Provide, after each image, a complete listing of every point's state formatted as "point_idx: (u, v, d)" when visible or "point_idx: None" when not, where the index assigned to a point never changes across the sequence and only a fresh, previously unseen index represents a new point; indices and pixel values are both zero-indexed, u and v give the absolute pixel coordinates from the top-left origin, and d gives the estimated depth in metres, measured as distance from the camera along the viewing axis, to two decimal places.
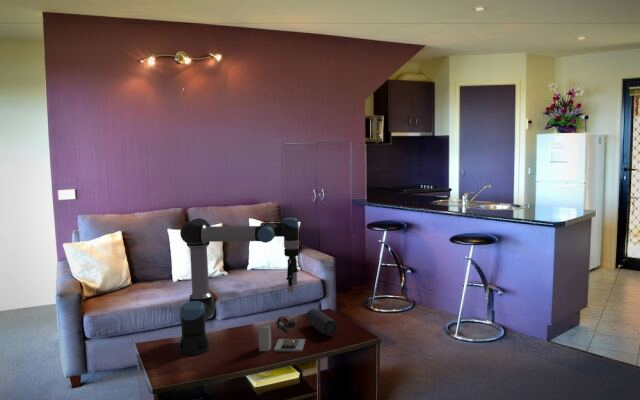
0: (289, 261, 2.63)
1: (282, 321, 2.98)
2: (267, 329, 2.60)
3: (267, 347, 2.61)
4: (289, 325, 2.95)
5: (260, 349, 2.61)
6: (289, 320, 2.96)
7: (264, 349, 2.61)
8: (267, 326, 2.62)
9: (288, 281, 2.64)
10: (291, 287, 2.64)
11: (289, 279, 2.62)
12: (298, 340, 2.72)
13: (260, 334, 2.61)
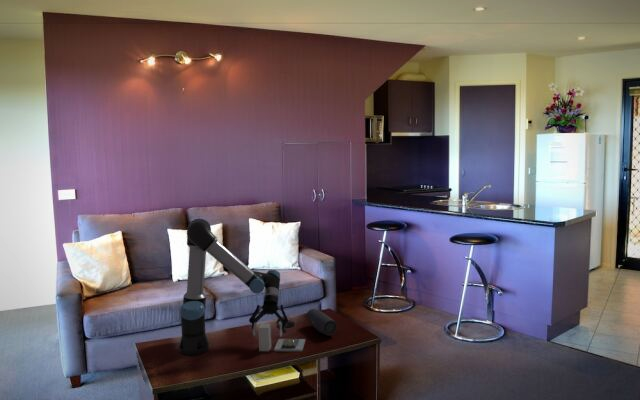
0: None
1: None
2: (267, 329, 2.60)
3: (267, 347, 2.61)
4: (288, 325, 2.96)
5: (260, 349, 2.61)
6: (288, 320, 2.96)
7: (264, 349, 2.61)
8: (267, 326, 2.62)
9: (281, 324, 2.67)
10: (281, 331, 2.66)
11: (285, 322, 2.68)
12: (298, 340, 2.72)
13: (260, 334, 2.61)
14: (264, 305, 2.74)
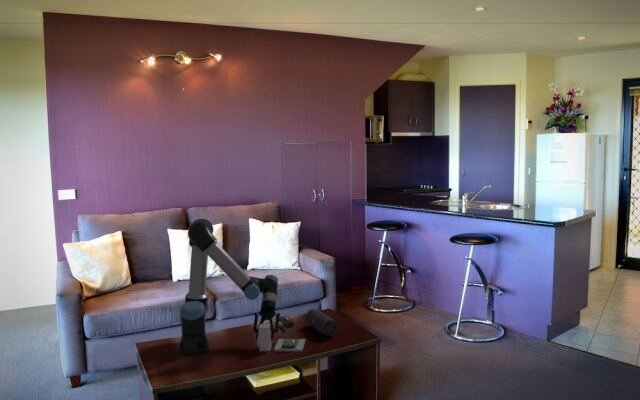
0: (279, 315, 2.70)
1: (281, 321, 2.99)
2: (267, 329, 2.60)
3: (267, 347, 2.61)
4: (288, 325, 2.96)
5: (260, 349, 2.61)
6: (288, 320, 2.97)
7: (264, 349, 2.61)
8: (267, 326, 2.62)
9: (270, 334, 2.63)
10: (270, 341, 2.62)
11: (274, 332, 2.64)
12: (298, 340, 2.72)
13: (260, 334, 2.61)
14: (261, 310, 2.71)
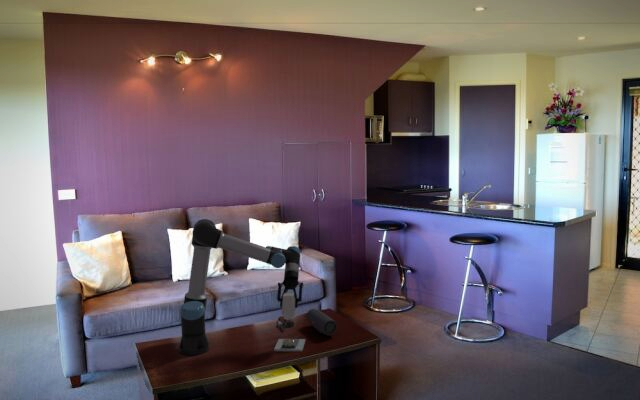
0: (302, 285, 2.73)
1: (281, 320, 2.99)
2: (291, 297, 2.63)
3: (291, 315, 2.64)
4: (287, 325, 2.96)
5: (284, 317, 2.65)
6: (287, 320, 2.97)
7: (288, 317, 2.65)
8: (291, 294, 2.65)
9: (294, 302, 2.66)
10: (294, 309, 2.65)
11: (298, 300, 2.67)
12: (298, 340, 2.72)
13: (284, 302, 2.64)
14: (284, 280, 2.74)
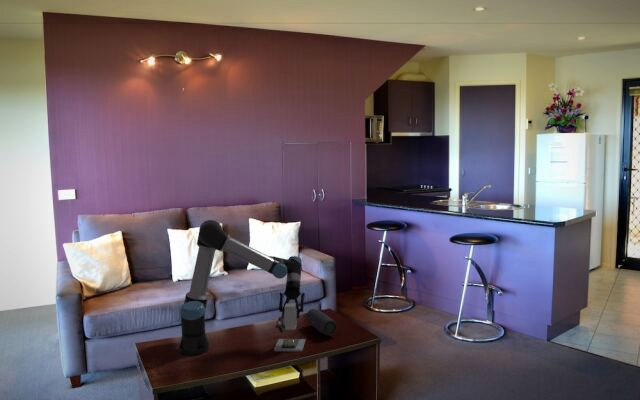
0: (304, 295, 2.74)
1: (281, 320, 2.99)
2: (293, 308, 2.64)
3: (293, 326, 2.65)
4: None
5: (286, 328, 2.66)
6: None
7: (290, 328, 2.65)
8: (293, 305, 2.66)
9: (296, 313, 2.67)
10: (296, 319, 2.66)
11: (300, 311, 2.68)
12: (298, 340, 2.72)
13: (286, 313, 2.65)
14: (286, 290, 2.75)
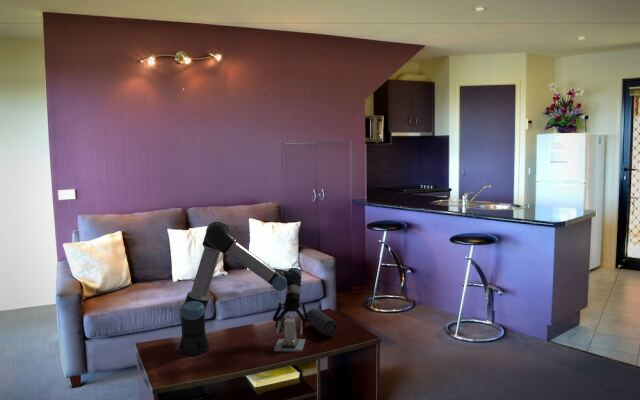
0: (304, 305, 2.75)
1: (280, 320, 2.99)
2: (293, 323, 2.65)
3: None
4: None
5: (286, 343, 2.66)
6: None
7: (290, 342, 2.66)
8: (292, 320, 2.67)
9: (302, 322, 2.68)
10: (302, 329, 2.67)
11: (305, 320, 2.69)
12: (298, 340, 2.72)
13: (286, 328, 2.65)
14: (286, 302, 2.76)
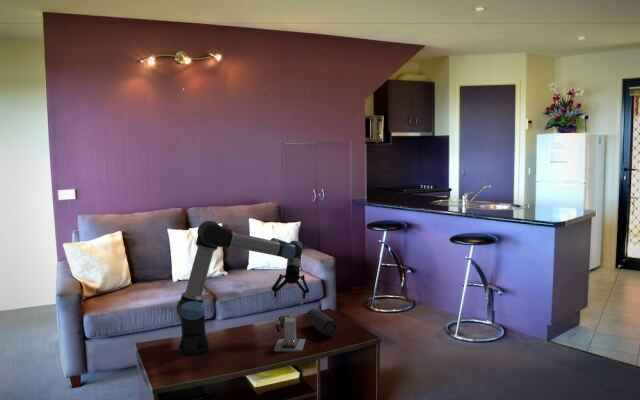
0: (304, 277, 2.86)
1: (280, 320, 3.00)
2: (293, 323, 2.65)
3: None
4: None
5: (286, 343, 2.66)
6: None
7: (290, 342, 2.66)
8: (292, 320, 2.67)
9: (302, 293, 2.80)
10: (302, 300, 2.80)
11: (306, 292, 2.81)
12: (298, 340, 2.72)
13: (286, 328, 2.65)
14: (286, 274, 2.87)
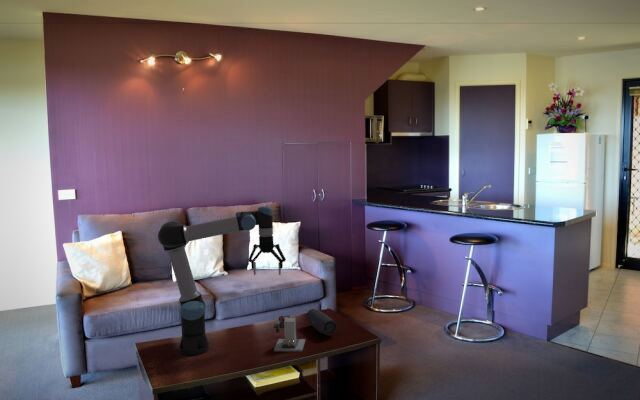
0: (278, 245, 2.81)
1: (280, 320, 3.00)
2: (293, 323, 2.65)
3: None
4: None
5: (286, 343, 2.66)
6: None
7: (290, 342, 2.66)
8: (292, 320, 2.67)
9: (279, 264, 2.81)
10: (280, 269, 2.83)
11: (283, 261, 2.81)
12: (298, 340, 2.72)
13: (286, 328, 2.65)
14: (260, 245, 2.81)
